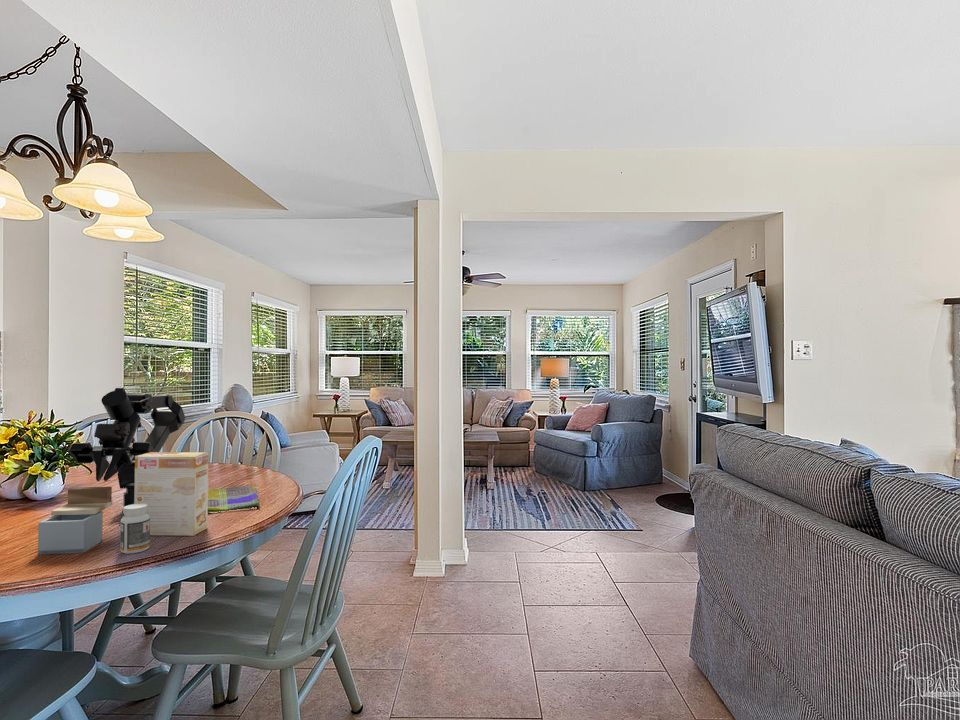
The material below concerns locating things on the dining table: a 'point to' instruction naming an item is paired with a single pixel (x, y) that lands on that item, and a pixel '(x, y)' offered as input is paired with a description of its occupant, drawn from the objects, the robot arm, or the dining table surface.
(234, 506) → the dish towel
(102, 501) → the birch lid
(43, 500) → the dining table surface
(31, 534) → the dining table surface
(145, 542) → the pill bottle
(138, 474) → the coffeecake box
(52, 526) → the slate box
